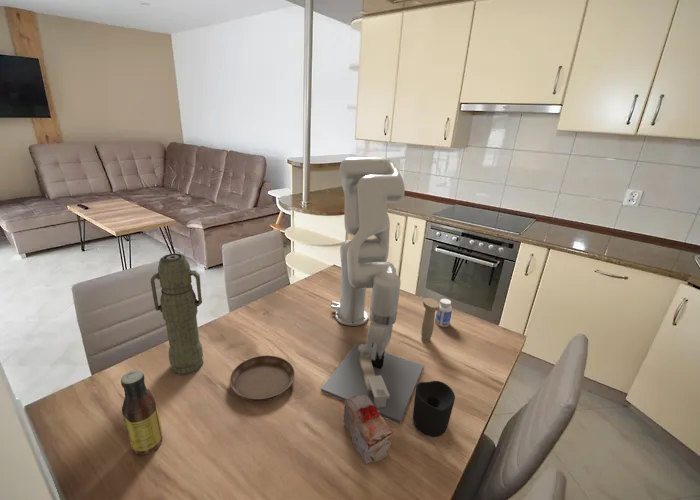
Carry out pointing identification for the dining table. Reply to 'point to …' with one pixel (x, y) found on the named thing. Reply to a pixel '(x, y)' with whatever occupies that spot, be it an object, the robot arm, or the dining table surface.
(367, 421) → the food item
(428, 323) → the handle
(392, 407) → the board
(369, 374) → the link
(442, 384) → the pen holder
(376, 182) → the robot arm
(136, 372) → the sauce bottle
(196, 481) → the dining table surface
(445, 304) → the pill bottle
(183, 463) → the dining table surface
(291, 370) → the plant saucer
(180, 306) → the thermos
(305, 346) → the dining table surface
